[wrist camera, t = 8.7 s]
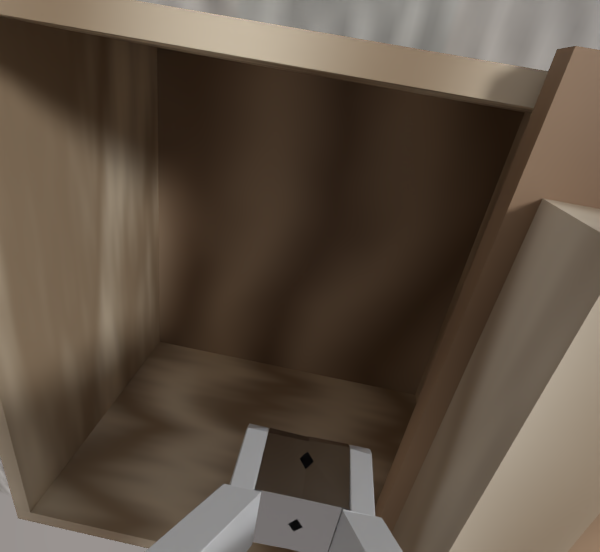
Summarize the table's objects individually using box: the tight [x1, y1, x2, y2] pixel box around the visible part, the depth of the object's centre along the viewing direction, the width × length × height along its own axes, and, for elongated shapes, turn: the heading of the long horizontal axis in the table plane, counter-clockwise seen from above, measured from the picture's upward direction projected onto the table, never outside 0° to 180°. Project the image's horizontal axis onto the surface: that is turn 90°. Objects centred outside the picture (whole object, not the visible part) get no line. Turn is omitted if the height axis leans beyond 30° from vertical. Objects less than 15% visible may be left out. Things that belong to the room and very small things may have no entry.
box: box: [0, 0, 548, 552], centre depth 16 cm, size 18×18×12 cm
